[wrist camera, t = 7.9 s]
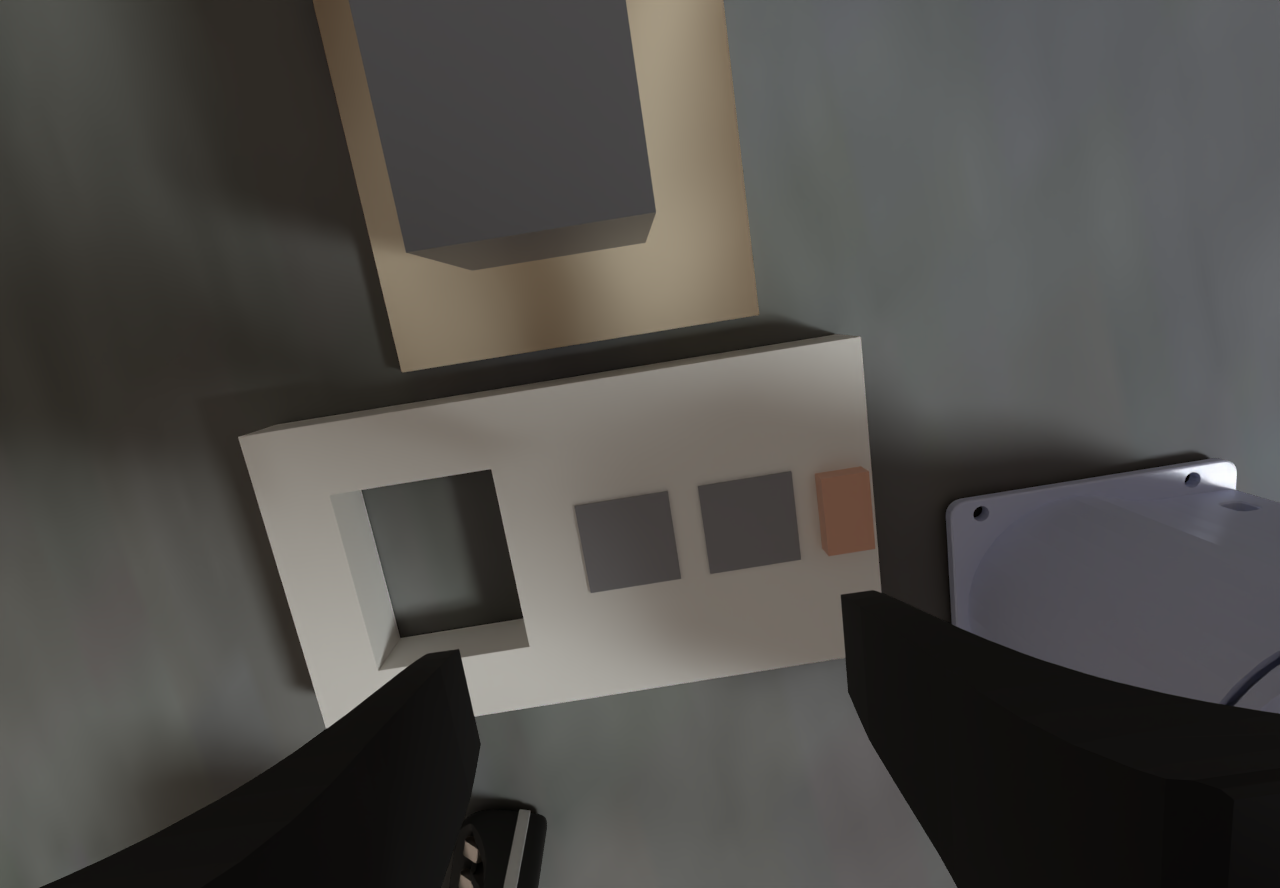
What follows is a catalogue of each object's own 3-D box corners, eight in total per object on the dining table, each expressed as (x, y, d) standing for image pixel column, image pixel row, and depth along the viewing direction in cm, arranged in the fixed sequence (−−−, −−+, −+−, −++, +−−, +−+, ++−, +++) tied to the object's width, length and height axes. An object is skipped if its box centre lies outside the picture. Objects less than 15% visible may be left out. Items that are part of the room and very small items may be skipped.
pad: (708, -89, 17) (711, -103, 16) (755, 314, 19) (759, 315, 19) (315, -24, 17) (304, -36, 17) (408, 371, 19) (401, 372, 19)
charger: (608, 27, 17) (599, -187, 10) (642, 252, 18) (656, 212, 11) (447, 53, 17) (316, -142, 10) (491, 275, 18) (405, 252, 11)
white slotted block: (837, 334, 20) (869, 337, 17) (862, 620, 22) (894, 661, 19) (276, 424, 20) (225, 441, 17) (355, 701, 22) (320, 752, 19)
